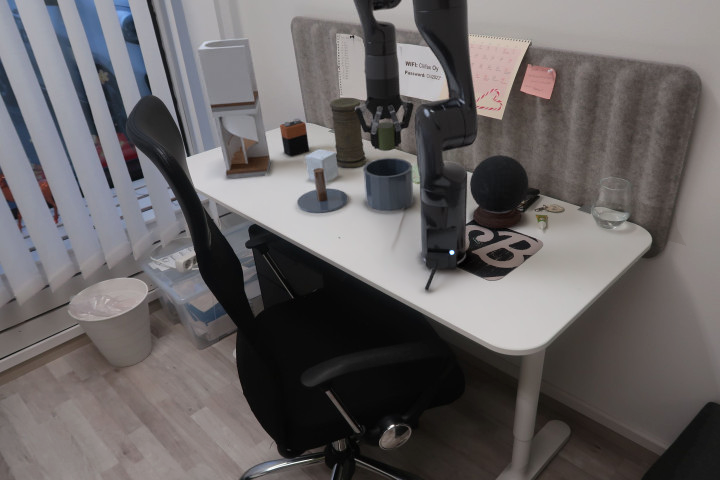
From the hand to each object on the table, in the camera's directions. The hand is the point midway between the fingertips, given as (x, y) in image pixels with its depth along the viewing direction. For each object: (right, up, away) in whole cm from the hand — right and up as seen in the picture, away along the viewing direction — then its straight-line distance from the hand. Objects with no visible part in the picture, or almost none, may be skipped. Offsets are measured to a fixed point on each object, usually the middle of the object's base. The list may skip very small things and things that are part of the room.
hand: (386, 146), depth 133 cm
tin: (0, 0, 0) cm, 0 cm away
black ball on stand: (+26, -17, -1) cm, 32 cm away
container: (-11, +2, +31) cm, 33 cm away
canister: (+1, -12, +8) cm, 15 cm away
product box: (-18, -4, +22) cm, 29 cm away
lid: (-16, -12, +9) cm, 22 cm away
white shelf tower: (-41, -1, +30) cm, 51 cm away
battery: (-29, +7, +40) cm, 50 cm away
